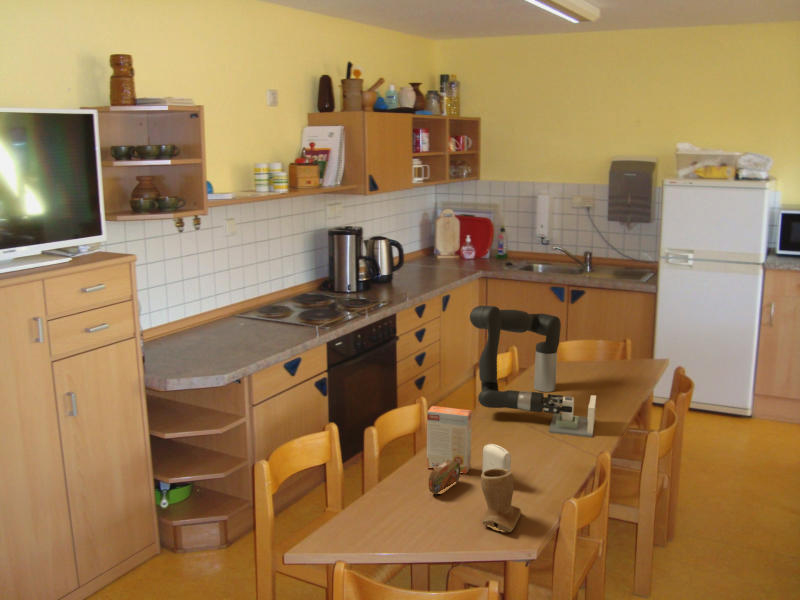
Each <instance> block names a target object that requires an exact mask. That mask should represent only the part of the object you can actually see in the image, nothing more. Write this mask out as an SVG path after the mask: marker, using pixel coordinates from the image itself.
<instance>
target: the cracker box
mask: <svg viewBox="0 0 800 600" xmlns="http://www.w3.org/2000/svg"><path fill="white" fill-rule="evenodd" d="M472 411H473V410H470V409H463V408H455V407H454V408H453V407H447V406H446V407H445V406H436V405H432V406H431V407H429V409H428V410H427V412H426V413H427V418H426V420H427V421H426V422H427V423H426V468H427V467H432V468H436V467H438V466H440V465H441V464H443V463H444V462H446V461H448V460H452V461H457V462H458V463H459V465H460V472H463V473H467V472H468V473H469V471H470V470H471V468H470V467H471V465H472V464H471V462H472V458H471V457H472ZM468 470H469V471H468ZM468 473H467V474H468Z"/></svg>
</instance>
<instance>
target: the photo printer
mask: <svg viewBox="0 0 800 600" xmlns="http://www.w3.org/2000/svg"><path fill="white" fill-rule="evenodd" d="M511 467H512V455H511V453H510V452H509V451H508V450H507V449H506V448H504V447H502V446H501V445H497V444H494V443H487V444H485V445H484V447H483V449H482V473H483V472H484V471H486V470H488V469H494V468H501V469H507V470H509V471H510V472H511V473H512V471H511V470H512V469H511Z"/></svg>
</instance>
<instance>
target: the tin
mask: <svg viewBox="0 0 800 600" xmlns="http://www.w3.org/2000/svg"><path fill="white" fill-rule="evenodd" d="M460 476H461V473H460V465H459V463H458V462H457V461H452V460H448V461H446V462H444V463H443V464H441V465H440V466H438V467H436V468H435V469H434V470H433V469H432V471H431V472H430V474H429V476H428V489H429V492H430V493H431V492H432V493H431V494H433V493H435V494H434V495H437V493H438V492H440V491H441V490H443V489H445V488H446V487H448V486H450V485H451V484H453V483H454V482H457V483H458V482H459V480H460Z"/></svg>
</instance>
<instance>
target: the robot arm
mask: <svg viewBox="0 0 800 600" xmlns="http://www.w3.org/2000/svg"><path fill="white" fill-rule="evenodd" d="M469 321H470V323H471V324H472V326H474V327H475V328H477V329H480V330H487V340H486V344H485V346H484V348H483V351H482V353H481V354H480V356H479V357H480V358H479V362H478V372H479V373H478V374H479V375H478V376H479V380H480V384H481V385H480V386H481V391H480V393H478V402H479V404H480V405H481V406H482V407H484V408H489V409H505V408H506V409H512V410H513V409H514V410H520V411H525V412H526V411H527V412H535V413H542V412H543V413H549V414H560V413H562V412H569V413H571V412H572V407H571V406H562V403H563V397H564V395H562V394H549V393H550V392H554V391H555V390H556V383H557V369H558V368H557V367H558V366H557V365H558V364H557V362H558V361H557V360H558V349H559V345H560V339H561V338H560V337H561V329H562V323H561V319H560V318H559V317H558V316H557V315H552V314H546V313H529V312H527V311H524V310H521V309H520V310H519V309H500V308H499V307H498V306H494V305H477V306H475V307H474V308H472V309H471V311H470V314H469ZM501 331H505V332H509V333H510V332H511V333H517V334H520V333H521V334H522V333H523V334H524V333H527V331H528V332H531V333H535V334H538V335H540V336H545V341H540V342H538V343H536V345H535V356H534V358H535V359H534V360H535V361H534V381H533V382H534V383H533V389H534V390H536V391H538V392H536V391H527V390H521V391H520V390H511V389H510V390H504V391H503V390H502V391H501V390H499V383H498V350H499V345H500V338H501V337H500V336H501ZM544 392H545V393H548V394H547V397H546V396H545V394H544Z"/></svg>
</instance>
